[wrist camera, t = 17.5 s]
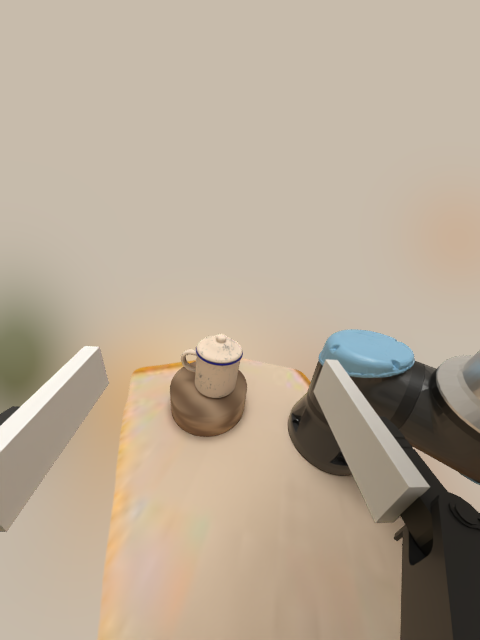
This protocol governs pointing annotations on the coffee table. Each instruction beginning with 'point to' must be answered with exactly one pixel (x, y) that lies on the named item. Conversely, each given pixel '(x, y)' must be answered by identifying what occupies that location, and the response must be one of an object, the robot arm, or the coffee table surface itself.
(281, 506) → the coffee table surface
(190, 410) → the walnut riser
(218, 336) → the teacup with lid
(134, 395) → the coffee table surface
